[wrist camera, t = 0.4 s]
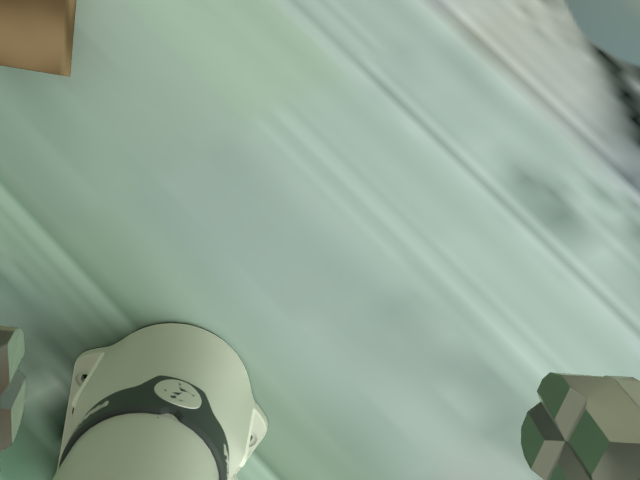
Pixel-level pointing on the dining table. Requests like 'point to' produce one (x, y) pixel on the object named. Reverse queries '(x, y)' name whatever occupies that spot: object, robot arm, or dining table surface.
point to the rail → (37, 35)
